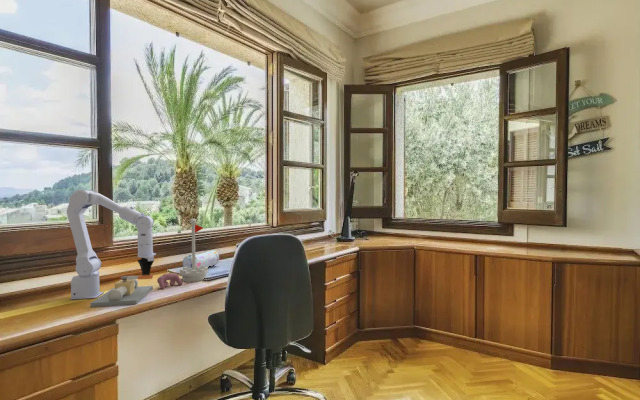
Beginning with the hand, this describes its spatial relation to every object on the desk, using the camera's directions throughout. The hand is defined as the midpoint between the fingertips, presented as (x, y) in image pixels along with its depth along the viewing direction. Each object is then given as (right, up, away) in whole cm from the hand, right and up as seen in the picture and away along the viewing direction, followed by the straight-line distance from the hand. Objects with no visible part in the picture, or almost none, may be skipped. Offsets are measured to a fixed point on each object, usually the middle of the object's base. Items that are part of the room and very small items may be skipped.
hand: (146, 275), depth 152 cm
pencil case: (+8, -7, +48) cm, 49 cm away
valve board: (-6, -7, -6) cm, 11 cm away
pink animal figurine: (+6, -7, +10) cm, 14 cm away
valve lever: (-1, 0, -5) cm, 5 cm away
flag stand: (+12, -7, +24) cm, 28 cm away
